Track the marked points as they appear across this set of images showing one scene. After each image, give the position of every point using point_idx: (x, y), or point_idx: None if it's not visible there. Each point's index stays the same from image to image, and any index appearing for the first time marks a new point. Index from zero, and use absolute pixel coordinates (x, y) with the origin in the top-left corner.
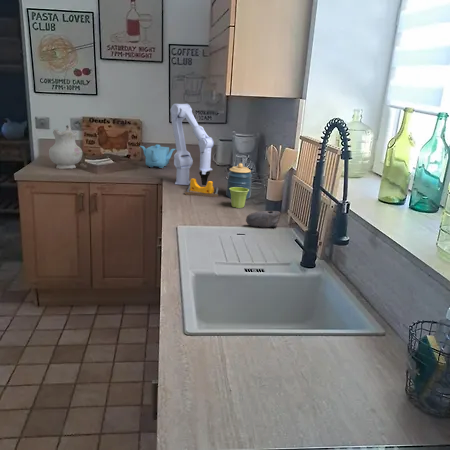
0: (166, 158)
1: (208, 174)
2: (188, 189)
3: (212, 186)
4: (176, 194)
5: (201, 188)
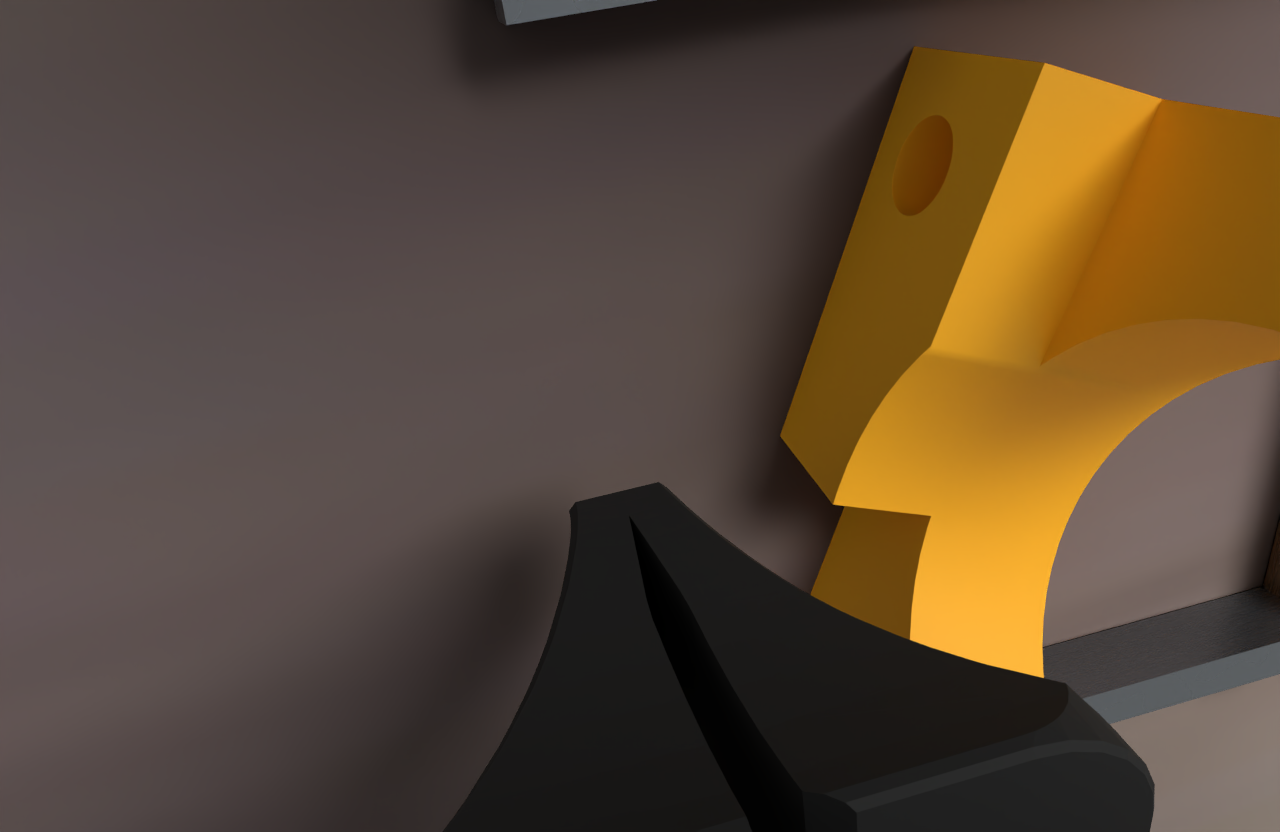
0: None
1: (1111, 730)
2: (1104, 707)
3: (1205, 108)
4: (1262, 750)
5: (1090, 464)
